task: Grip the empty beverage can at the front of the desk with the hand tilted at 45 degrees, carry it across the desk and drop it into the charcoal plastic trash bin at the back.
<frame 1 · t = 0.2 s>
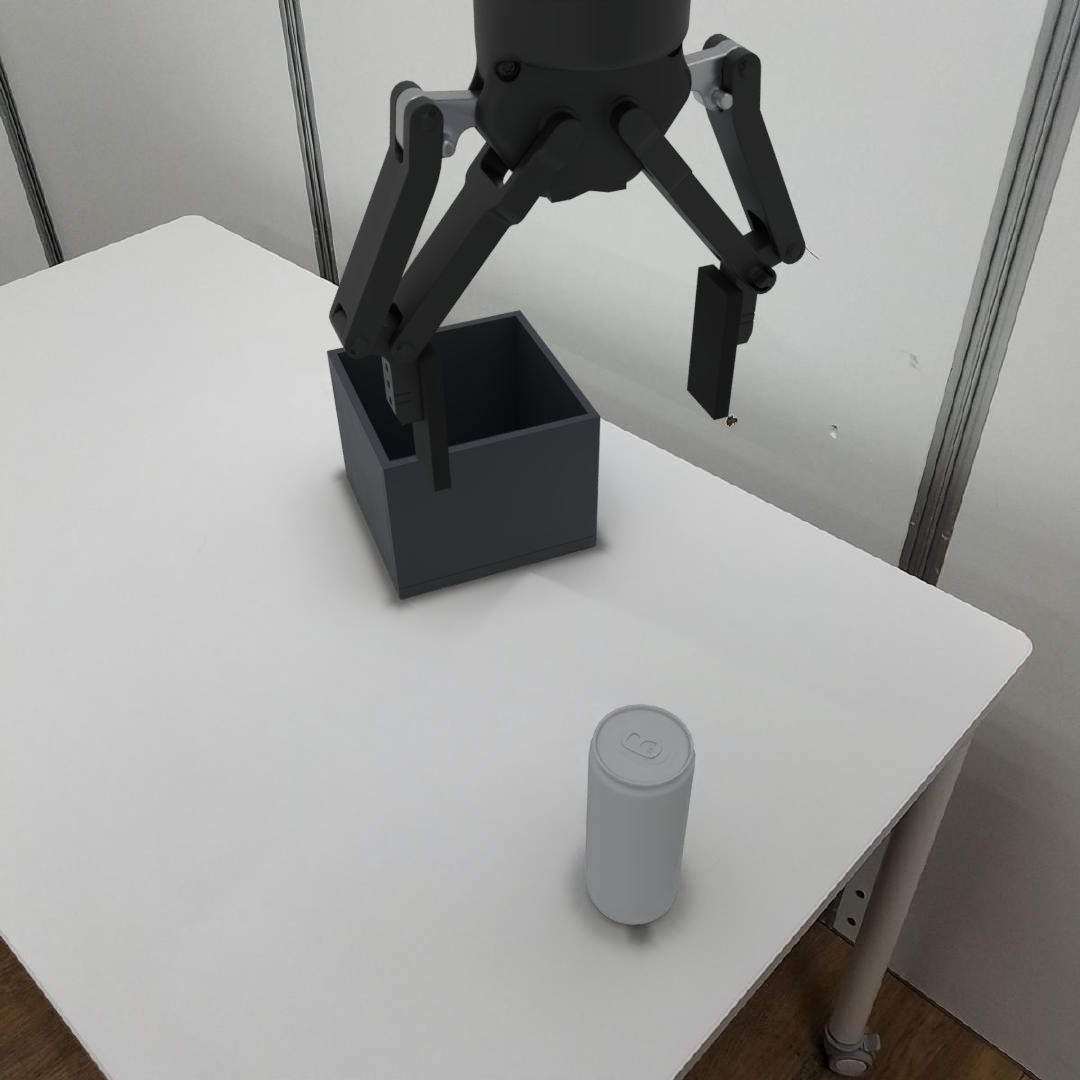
hand: (575, 437, 51), 22 cm above the table, tool pointing down, fingers open, 13 cm apart
beverage can: (630, 889, 58), on the table
trash bin: (466, 509, 81), on the table
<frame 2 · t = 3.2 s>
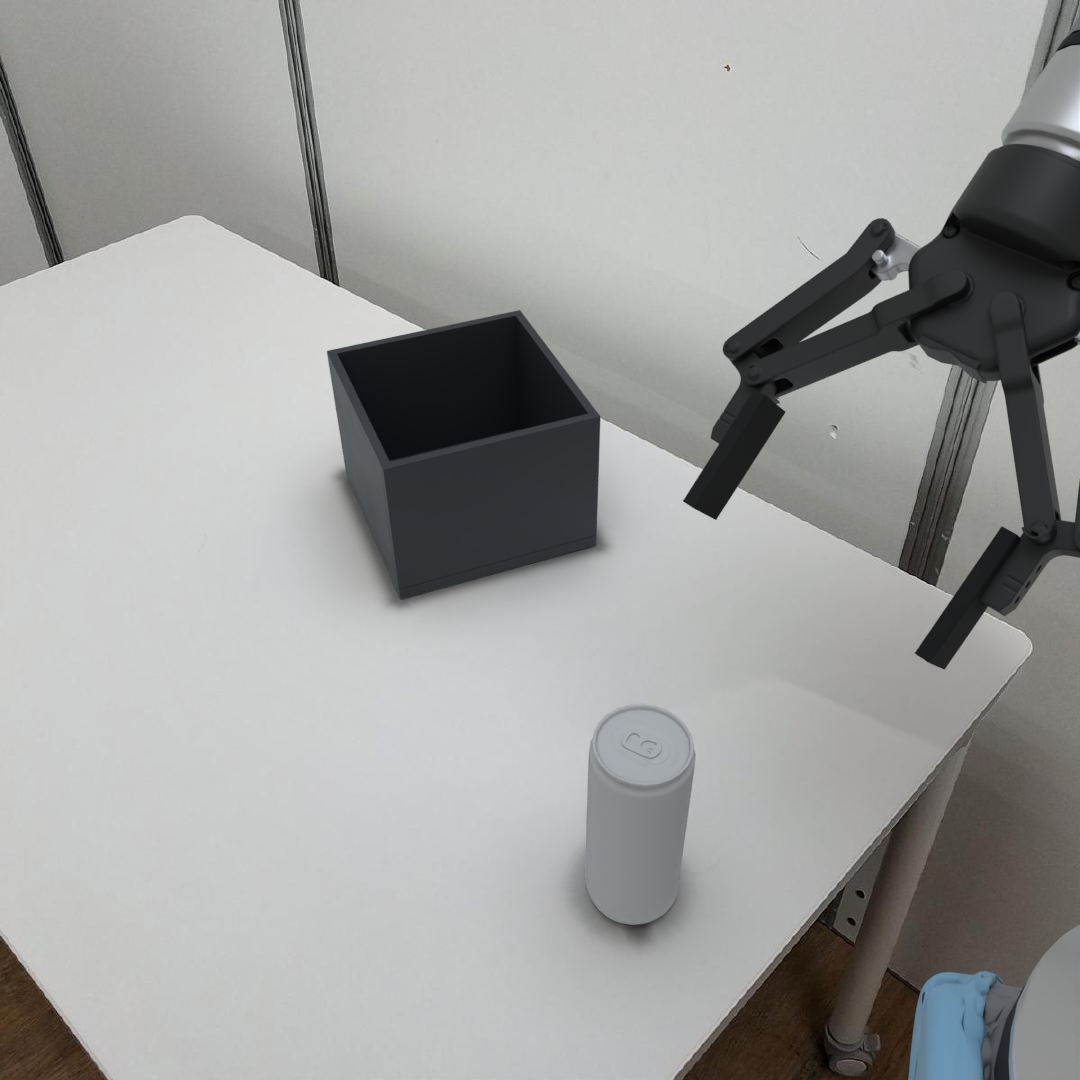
hand: (805, 581, 53), 15 cm above the table, tool tilted 45°, fingers open, 13 cm apart
nothing on the table moved.
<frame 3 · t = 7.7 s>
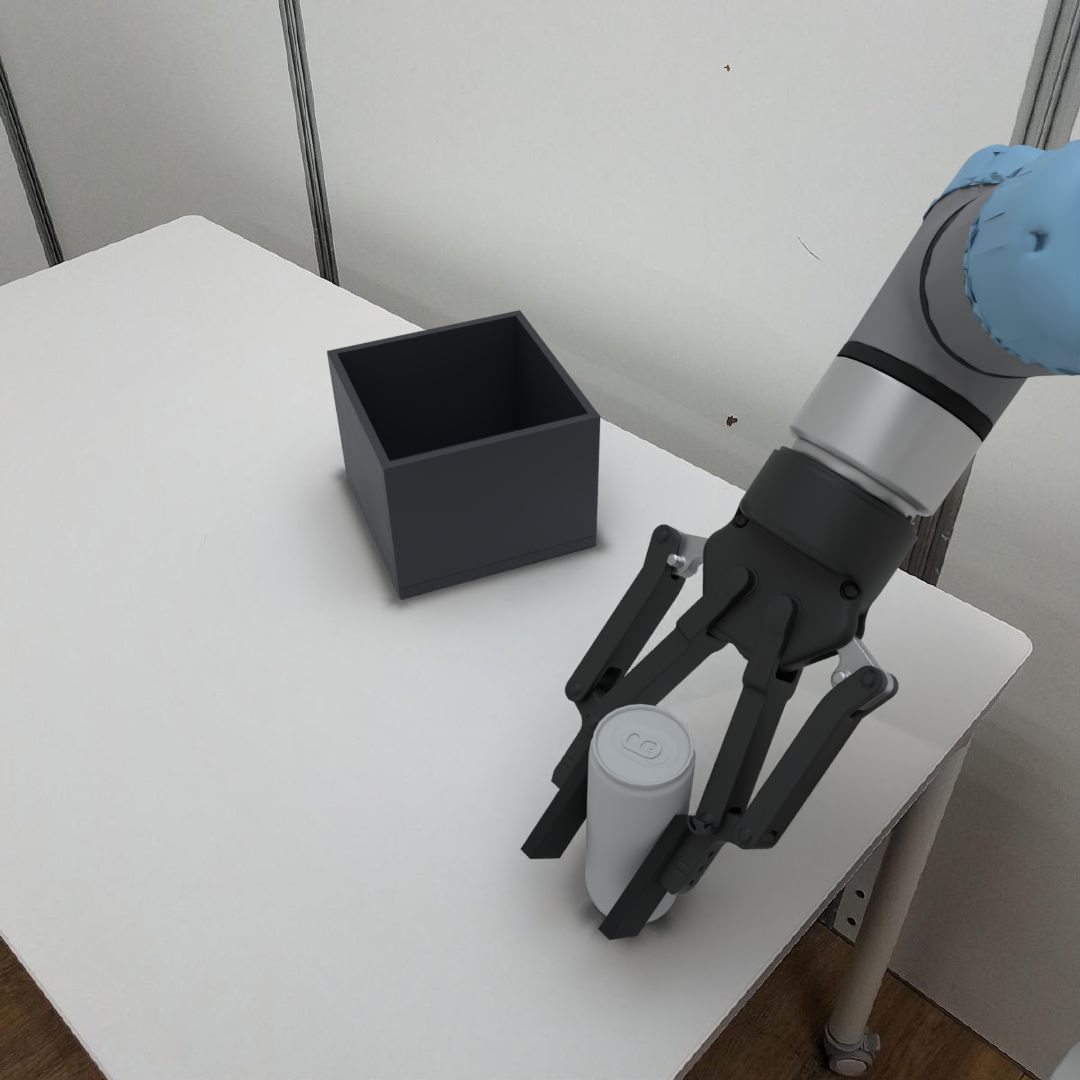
hand: (578, 891, 54), 4 cm above the table, tool tilted 45°, fingers closed on beverage can, 5 cm apart
beverage can: (630, 889, 58), on the table, touching gripper
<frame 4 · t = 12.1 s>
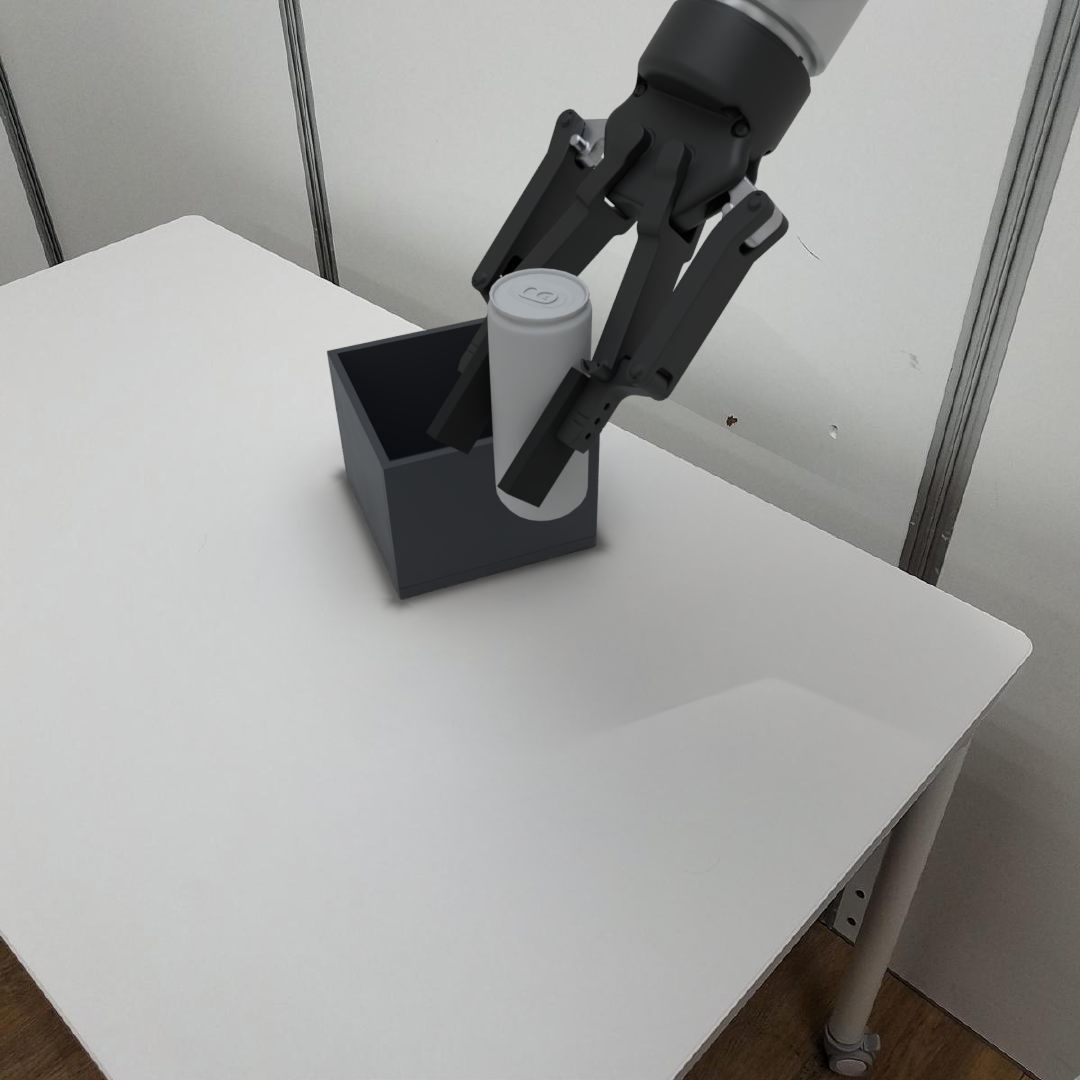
hand: (482, 469, 54), 18 cm above the table, tool tilted 45°, fingers closed on beverage can, 5 cm apart
beverage can: (541, 499, 59), point 15 cm above the table, touching gripper
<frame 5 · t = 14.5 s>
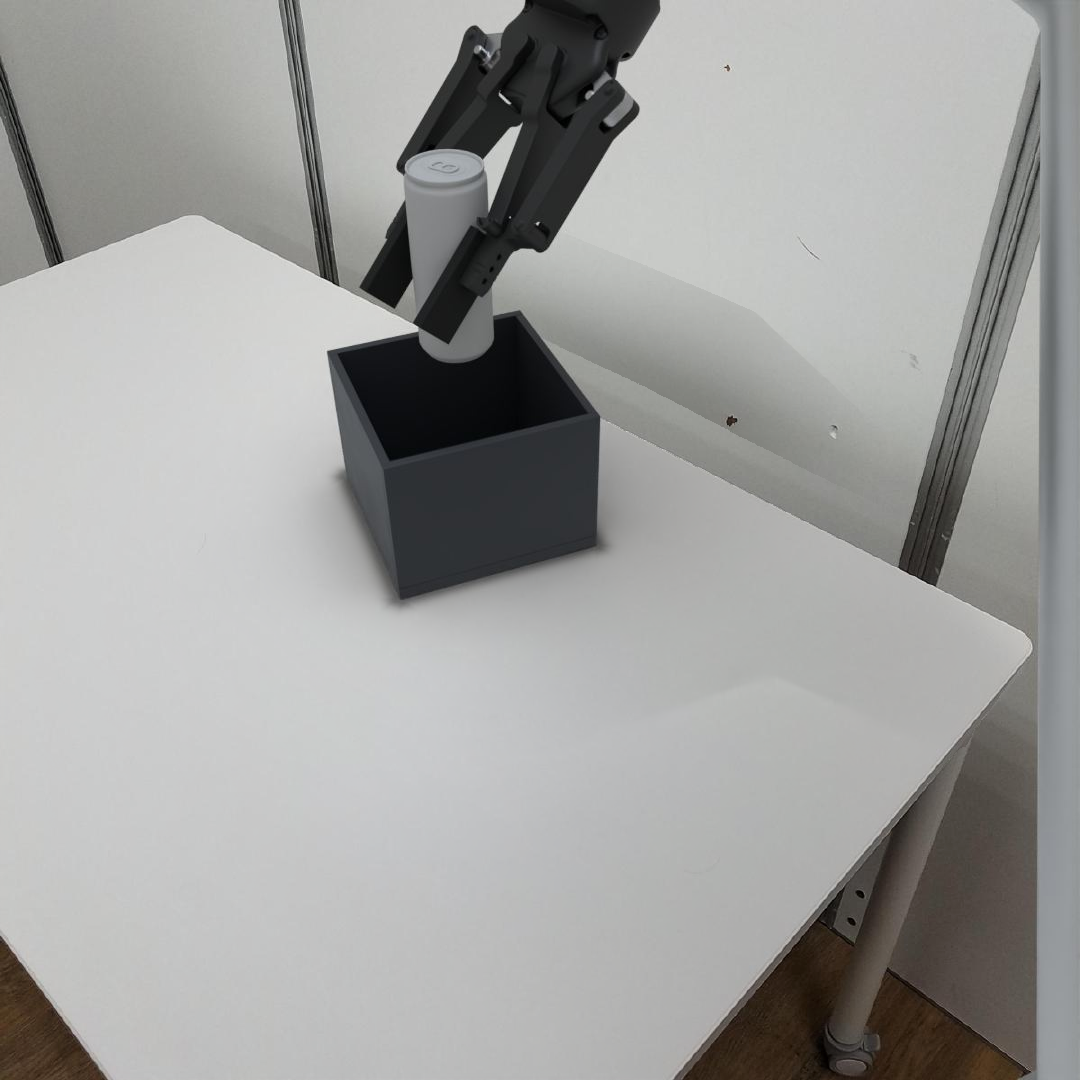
hand: (403, 315, 67), 17 cm above the table, tool tilted 45°, fingers closed on beverage can, 5 cm apart
beverage can: (456, 348, 72), point 14 cm above the table, touching gripper
when the fingers open (12 cm above the table, at t = 16.5 s): beverage can drops 7 cm, resting on trash bin.
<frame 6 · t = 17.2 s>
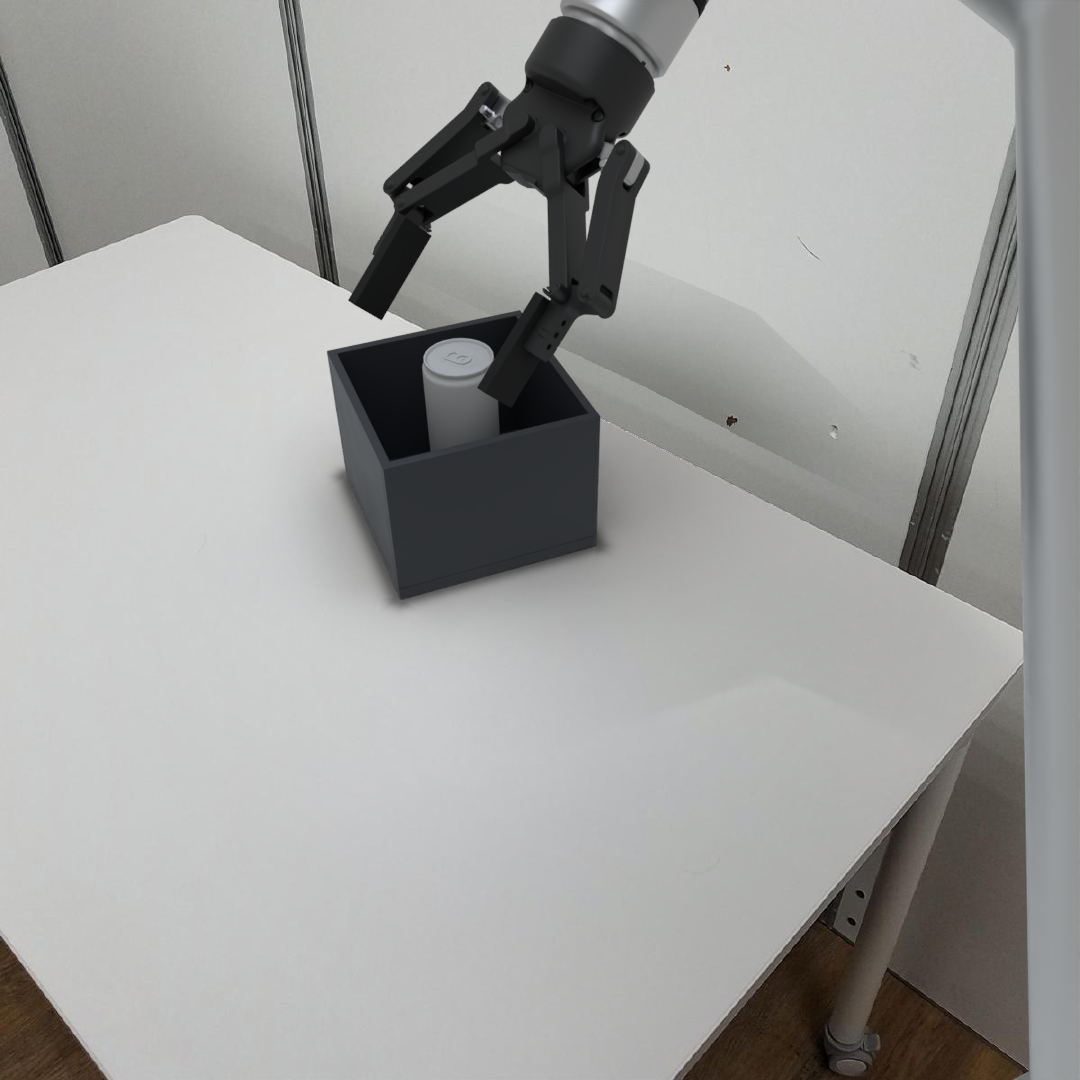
hand: (425, 352, 70), 14 cm above the table, tool tilted 45°, fingers open, 13 cm apart
beverage can: (469, 502, 80), point 1 cm above the table, touching trash bin
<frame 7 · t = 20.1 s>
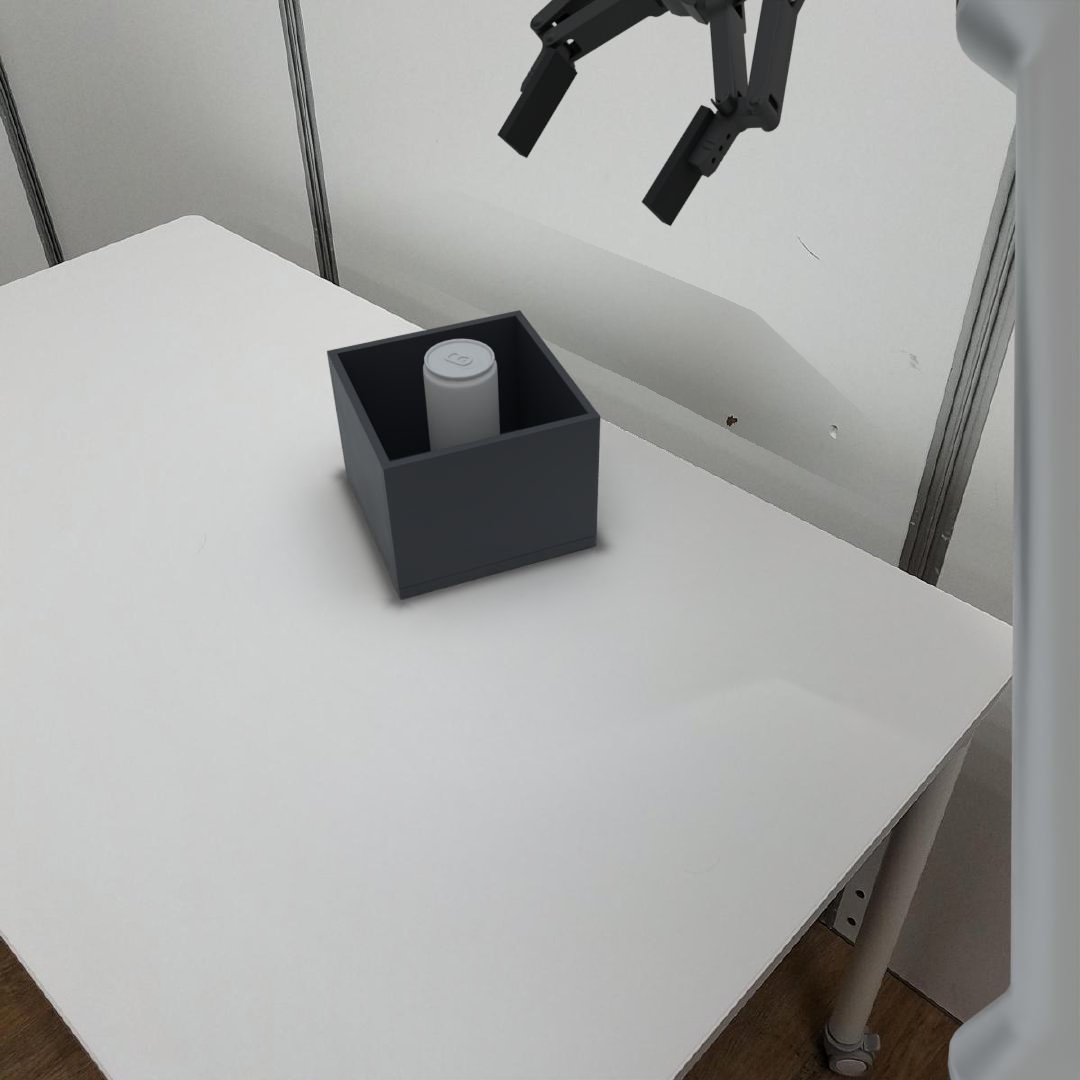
hand: (579, 179, 71), 22 cm above the table, tool tilted 45°, fingers open, 13 cm apart
nothing on the table moved.
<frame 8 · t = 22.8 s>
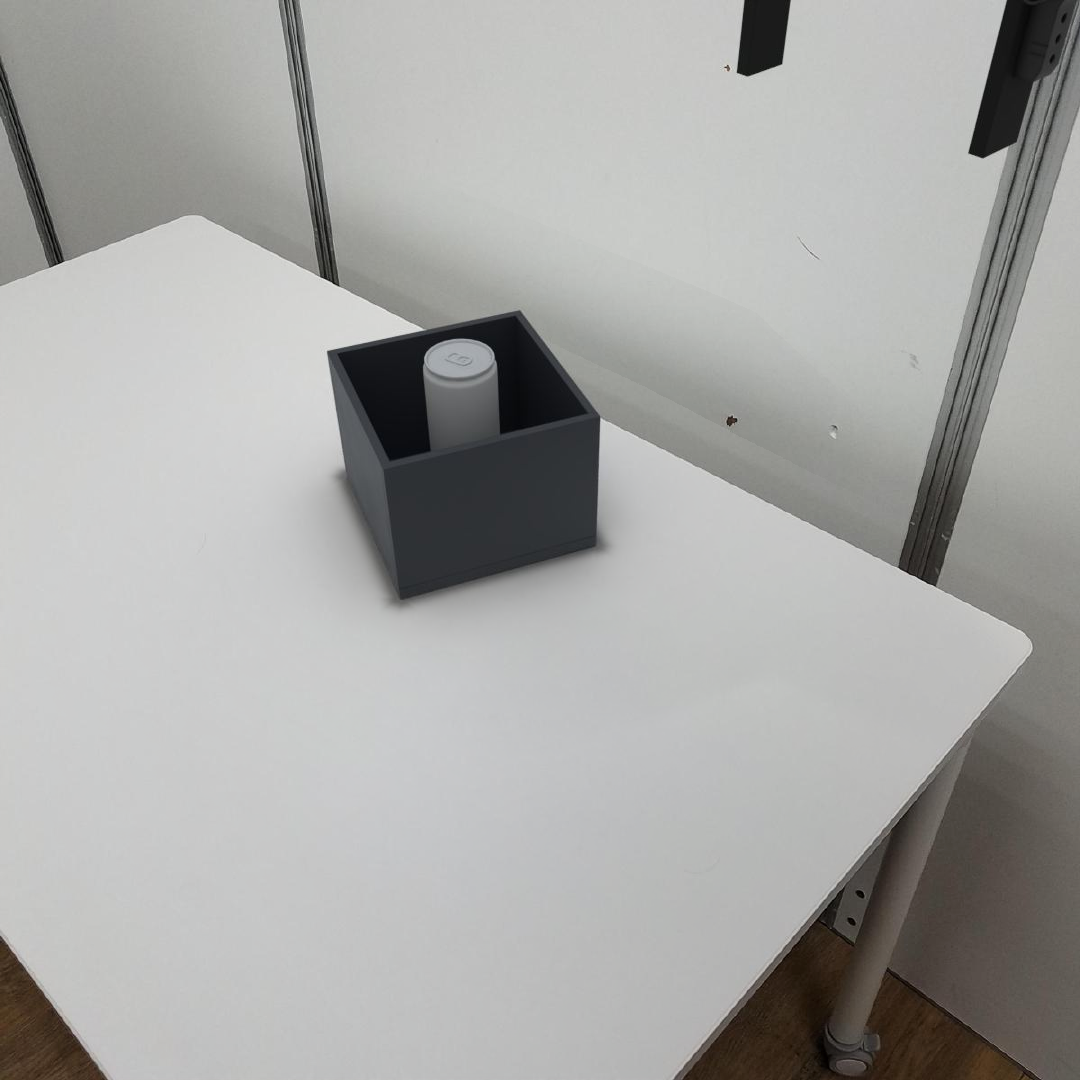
hand: (867, 106, 54), 32 cm above the table, tool pointing down, fingers open, 13 cm apart
nothing on the table moved.
at the end: beverage can inside the target area in the trash bin (0.2 cm from its centre), point 0.8 cm above the trash bin's base; the gripper is holding nothing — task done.
